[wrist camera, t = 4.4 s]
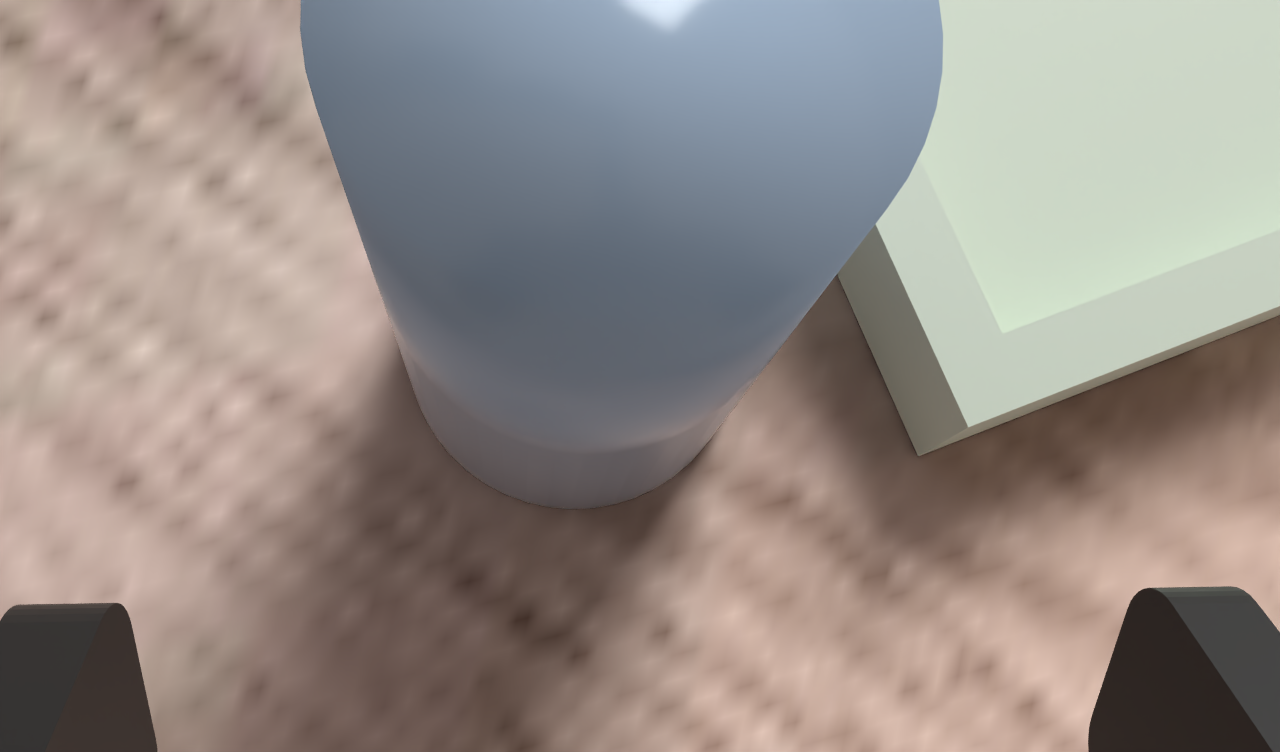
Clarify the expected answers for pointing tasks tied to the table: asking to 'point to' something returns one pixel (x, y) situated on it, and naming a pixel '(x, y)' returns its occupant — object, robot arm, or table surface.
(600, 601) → the table surface
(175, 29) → the table surface
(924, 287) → the sage tray
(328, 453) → the table surface
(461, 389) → the dome-topped blue cylinder
